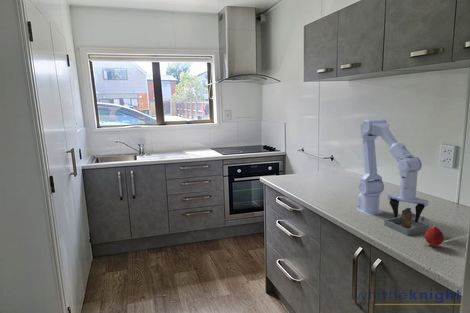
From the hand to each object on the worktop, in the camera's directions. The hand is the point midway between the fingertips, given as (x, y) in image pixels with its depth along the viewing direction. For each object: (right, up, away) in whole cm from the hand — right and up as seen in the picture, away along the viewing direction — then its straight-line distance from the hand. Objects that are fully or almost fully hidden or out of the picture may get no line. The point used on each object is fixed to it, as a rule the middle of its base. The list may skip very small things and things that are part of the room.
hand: (406, 219), depth 125 cm
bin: (0, -4, +1) cm, 4 cm away
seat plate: (+9, -2, +10) cm, 14 cm away
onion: (+2, -7, -14) cm, 16 cm away
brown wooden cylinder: (0, -4, +1) cm, 4 cm away
